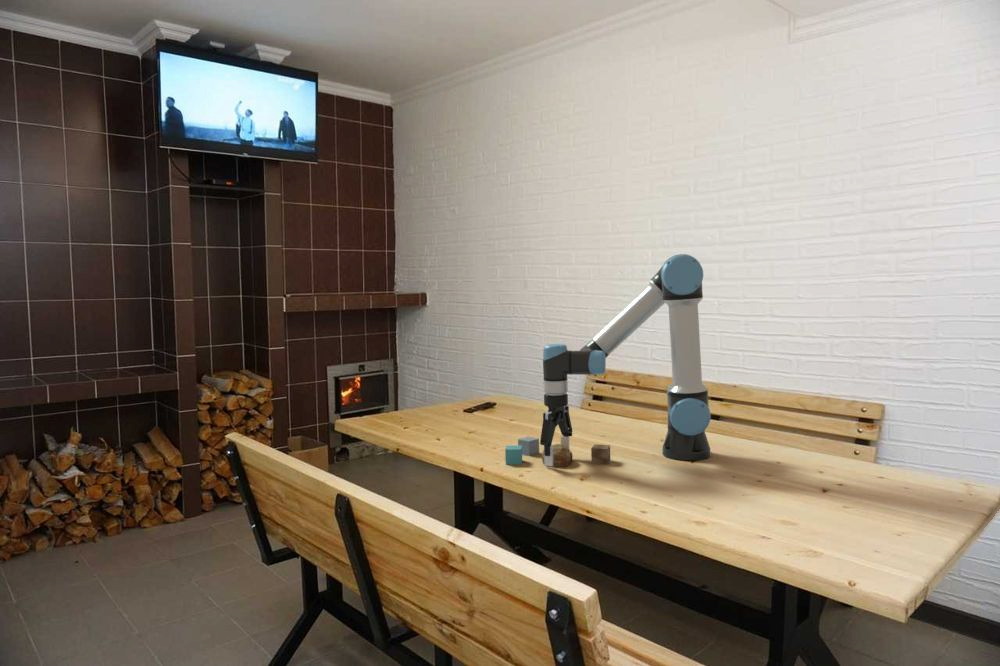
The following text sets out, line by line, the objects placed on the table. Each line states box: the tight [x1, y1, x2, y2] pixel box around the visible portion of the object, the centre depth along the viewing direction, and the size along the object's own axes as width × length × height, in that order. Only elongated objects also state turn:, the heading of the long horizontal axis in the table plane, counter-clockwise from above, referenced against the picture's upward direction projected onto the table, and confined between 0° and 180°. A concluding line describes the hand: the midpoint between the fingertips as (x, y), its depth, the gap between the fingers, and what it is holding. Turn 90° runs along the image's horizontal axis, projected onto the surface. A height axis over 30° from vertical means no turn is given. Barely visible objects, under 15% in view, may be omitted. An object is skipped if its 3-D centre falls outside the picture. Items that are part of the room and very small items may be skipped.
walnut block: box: [590, 443, 611, 465], centre depth 224 cm, size 5×5×5 cm
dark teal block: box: [504, 445, 523, 466], centre depth 226 cm, size 5×5×5 cm
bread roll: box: [541, 443, 574, 468], centre depth 224 cm, size 10×10×8 cm
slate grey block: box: [517, 435, 540, 457], centre depth 237 cm, size 5×5×5 cm
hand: (557, 460), depth 224 cm, fingers open, 11 cm apart
